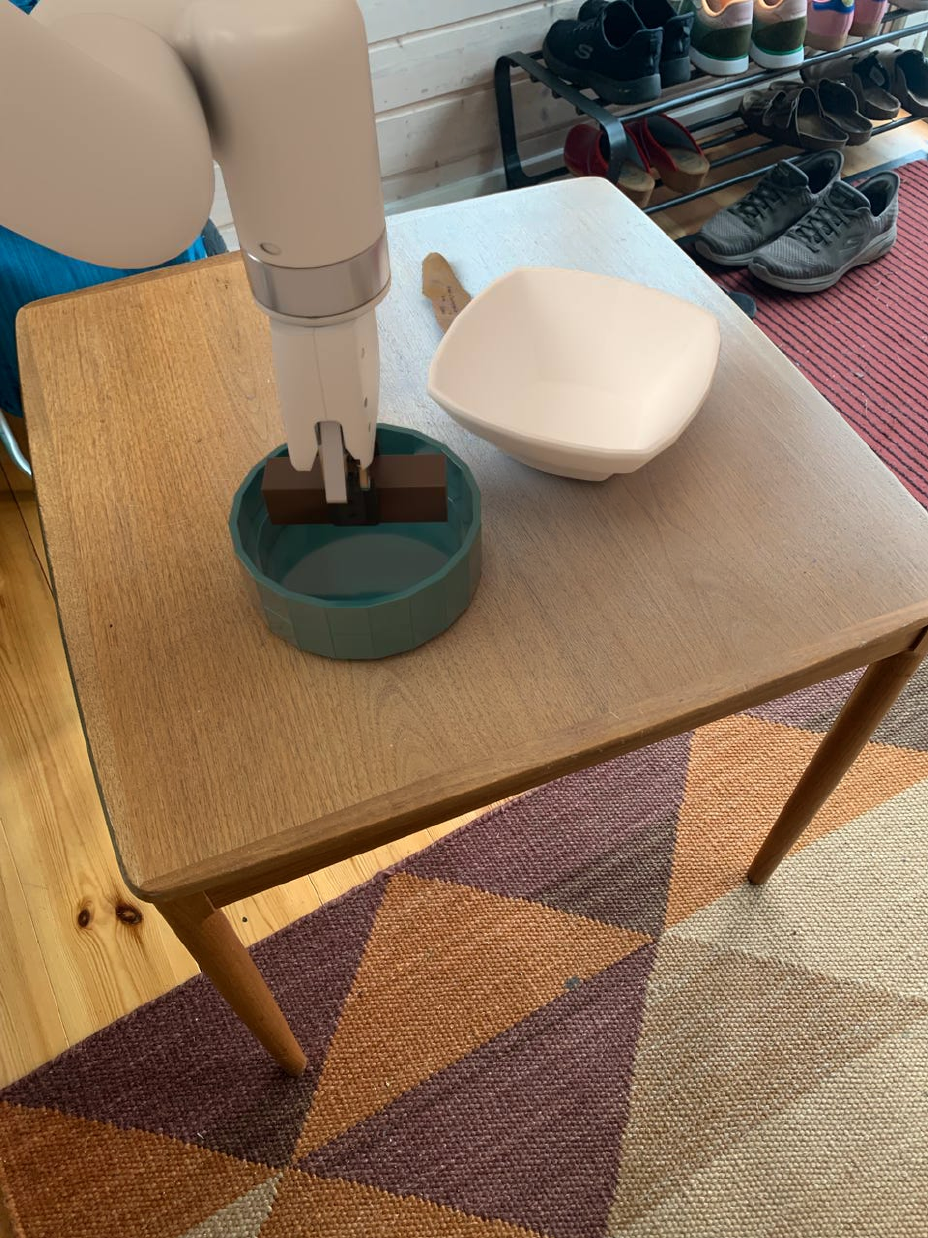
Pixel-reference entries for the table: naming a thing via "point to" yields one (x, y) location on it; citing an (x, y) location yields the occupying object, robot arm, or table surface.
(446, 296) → the stone tool
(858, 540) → the table surface
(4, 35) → the robot arm
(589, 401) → the bowl
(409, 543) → the mixing bowl
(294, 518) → the brown wooden block
